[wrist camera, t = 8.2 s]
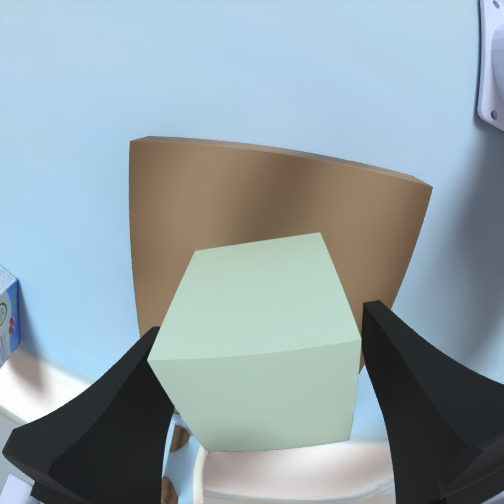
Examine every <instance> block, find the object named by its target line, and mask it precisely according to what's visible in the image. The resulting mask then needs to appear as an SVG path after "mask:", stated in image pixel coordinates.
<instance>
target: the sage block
mask: <svg viewBox="0 0 504 504" xmlns="http://www.w3.org/2000/svg"><path fill="white" fill-rule="evenodd" d="M361 340H362V339H361V336H360V333H359V331H358V328H357V325H356V322H355V319H354V317H353V314H352V311H351V309H350V306H349V303H348V301H347V298H346V295H345V293H344V290H343V287H342V285H341V282H340V280H339V277H338V275H337V272H336V270H335V267H334V265H333V262H332V260H331V257H330V255H329V252H328V250H327V247H326V245H325V243H324V240H323V238H322V236H321V233H320V232H319V233H312V234H305V235H298V236H291V237H284V238H278V239H271V240H264V241H257V242H251V243H244V244H237V245H231V246H224V247H218V248H211V249H204V250H198V251H195V252H194V254H193V256H192V259H191V261H190V263H189V265H188V267H187V269H186V271H185V274H184V276H183V278H182V280H181V282H180V285H179V287H178V289H177V291H176V294H175V296H174V298H173V300H172V302H171V305H170V307H169V309H168V312H167V314H166V316H165V319H164V321H163V323H162V325H161V328H160V330H159V333H158V335H157V337H156V340H155V342H154V344H153V347H152V349H151V352H150V354H149V356H148V359H147V361H148V363H149V364H150V366H151V368H152V370H153V371H154V373H155V375H156V377H157V378H158V380H159V382H160V383H161V385H162V387H163V388H164V390H165V392H166V393H167V395H168V396H169V398H170V400H171V401H172V403H173V404H174V406H175V408H176V409H177V411H178V412H179V414H180V415H181V417H182V418H183V420H184V421H185V423H186V424H187V426H188V427H189V429H190V430H191V431H192V433H193V434H194V436H195V437H196V439H197V440H198V441H199V443H200V444H201V445H202V447H203V448H204V450H205V451H224V452H232V451H265V450H280V449H291V448H301V447H309V446H317V445H324V444H330V443H337V442H342V441H348V440H350V435H351V428H352V422H353V415H354V408H355V401H356V393H357V384H358V375H359V365H360V353H361Z"/></svg>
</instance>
